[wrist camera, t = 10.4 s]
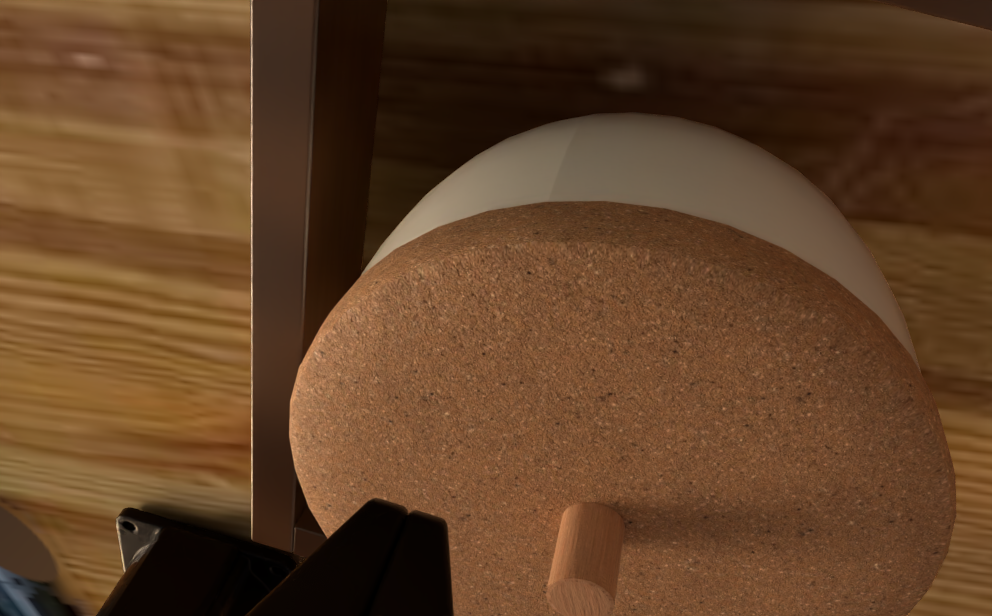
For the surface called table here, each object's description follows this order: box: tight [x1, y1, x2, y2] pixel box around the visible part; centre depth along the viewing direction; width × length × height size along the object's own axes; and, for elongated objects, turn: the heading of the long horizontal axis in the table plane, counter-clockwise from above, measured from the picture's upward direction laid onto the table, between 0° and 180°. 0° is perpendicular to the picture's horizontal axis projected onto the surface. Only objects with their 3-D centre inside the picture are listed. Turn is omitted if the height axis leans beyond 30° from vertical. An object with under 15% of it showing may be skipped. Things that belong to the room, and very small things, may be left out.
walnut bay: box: [250, 0, 992, 558], centre depth 19 cm, size 18×11×4 cm, turn 170°
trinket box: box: [289, 112, 956, 616], centre depth 17 cm, size 11×11×9 cm
